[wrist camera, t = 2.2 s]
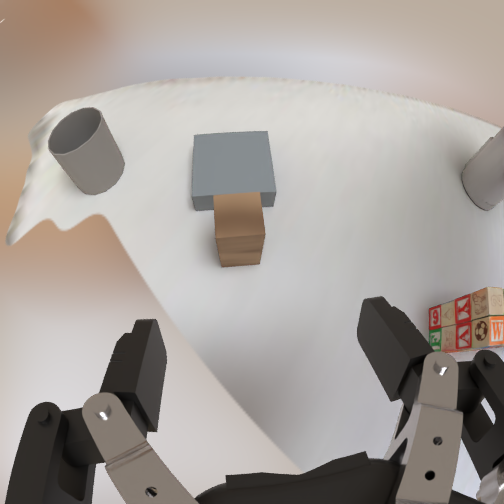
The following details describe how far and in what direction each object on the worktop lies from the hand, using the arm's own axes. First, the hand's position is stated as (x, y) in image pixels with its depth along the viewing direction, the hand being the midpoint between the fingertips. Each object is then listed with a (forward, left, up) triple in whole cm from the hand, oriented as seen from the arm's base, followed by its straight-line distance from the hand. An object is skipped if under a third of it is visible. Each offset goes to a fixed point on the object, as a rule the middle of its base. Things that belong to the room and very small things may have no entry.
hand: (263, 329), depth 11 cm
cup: (-15, -29, -22) cm, 40 cm away
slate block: (-20, -9, -23) cm, 32 cm away
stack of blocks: (-10, +33, -23) cm, 41 cm away
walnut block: (-11, -5, -22) cm, 25 cm away
